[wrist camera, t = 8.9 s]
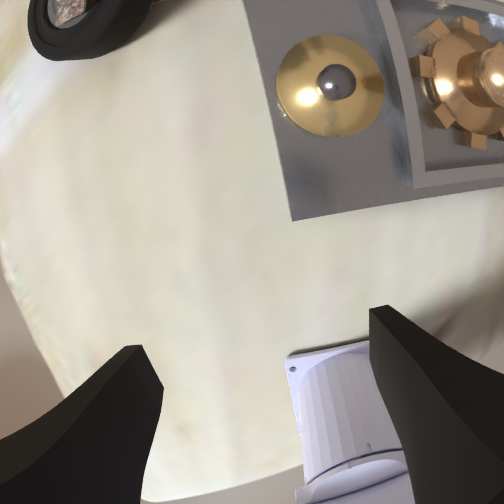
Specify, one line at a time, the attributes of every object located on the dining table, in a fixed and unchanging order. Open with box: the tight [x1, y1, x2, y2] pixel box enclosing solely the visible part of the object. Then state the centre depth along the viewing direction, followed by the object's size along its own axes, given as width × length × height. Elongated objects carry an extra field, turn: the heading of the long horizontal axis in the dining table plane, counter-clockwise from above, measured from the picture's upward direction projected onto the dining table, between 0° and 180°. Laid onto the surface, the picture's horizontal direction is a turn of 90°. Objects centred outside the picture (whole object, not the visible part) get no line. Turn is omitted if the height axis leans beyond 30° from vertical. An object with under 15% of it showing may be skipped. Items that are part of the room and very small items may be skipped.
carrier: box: [242, 0, 504, 221], centre depth 12 cm, size 13×18×4 cm
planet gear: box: [411, 15, 504, 150], centre depth 11 cm, size 8×8×4 cm
